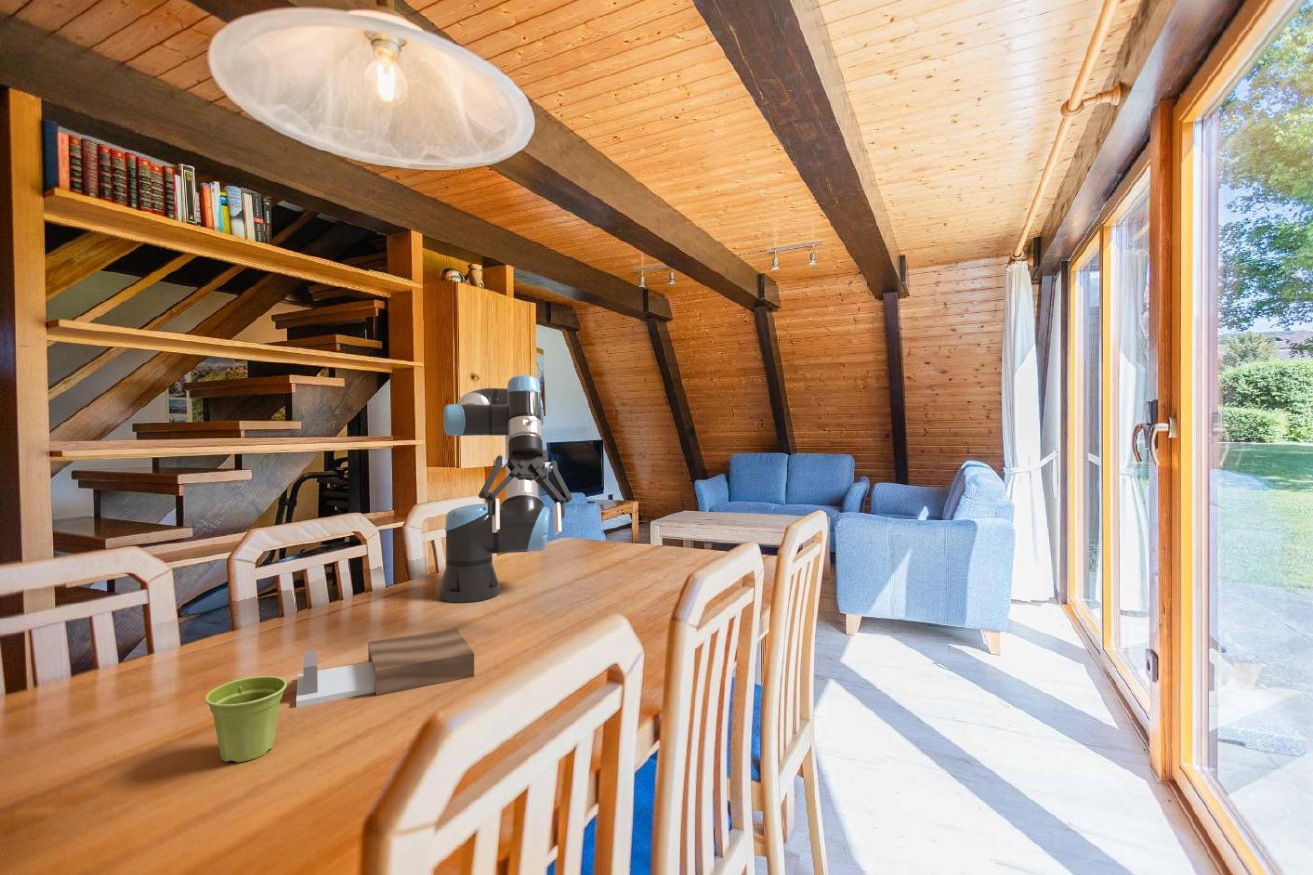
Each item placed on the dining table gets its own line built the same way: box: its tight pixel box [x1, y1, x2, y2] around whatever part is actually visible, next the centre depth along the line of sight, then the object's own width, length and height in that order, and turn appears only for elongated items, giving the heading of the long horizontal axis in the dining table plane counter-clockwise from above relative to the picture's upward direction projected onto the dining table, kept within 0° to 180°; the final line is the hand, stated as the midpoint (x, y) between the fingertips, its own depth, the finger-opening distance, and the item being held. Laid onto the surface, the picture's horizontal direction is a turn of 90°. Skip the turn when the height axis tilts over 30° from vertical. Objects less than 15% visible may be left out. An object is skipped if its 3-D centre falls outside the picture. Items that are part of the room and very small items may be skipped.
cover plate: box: [295, 649, 375, 708], centre depth 110 cm, size 12×24×6 cm, turn 119°
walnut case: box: [367, 628, 475, 696], centre depth 114 cm, size 15×16×4 cm
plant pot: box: [204, 675, 288, 763], centre depth 86 cm, size 9×9×9 cm
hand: (527, 532), depth 132 cm, fingers open, 13 cm apart
